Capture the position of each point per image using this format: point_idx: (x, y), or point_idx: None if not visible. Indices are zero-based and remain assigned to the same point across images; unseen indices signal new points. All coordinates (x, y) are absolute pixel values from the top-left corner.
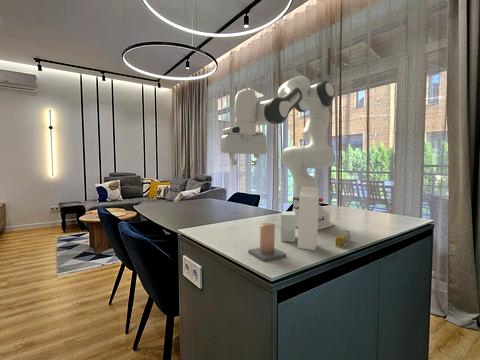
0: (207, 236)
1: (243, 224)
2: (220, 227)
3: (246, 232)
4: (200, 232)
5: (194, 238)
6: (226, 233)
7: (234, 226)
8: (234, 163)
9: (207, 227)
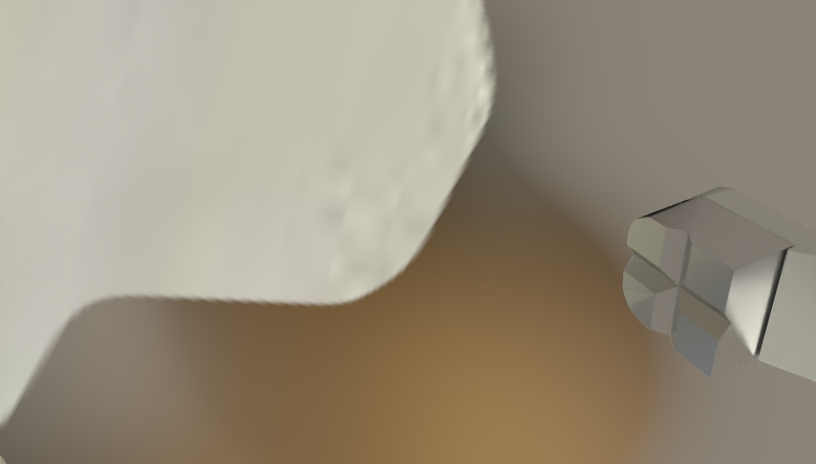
0: (395, 37)
1: (20, 333)
2: (245, 255)
3: (55, 73)
4: (410, 146)
5: (481, 12)
6: (243, 82)
7: (123, 275)
8: (720, 203)
9: (335, 263)
